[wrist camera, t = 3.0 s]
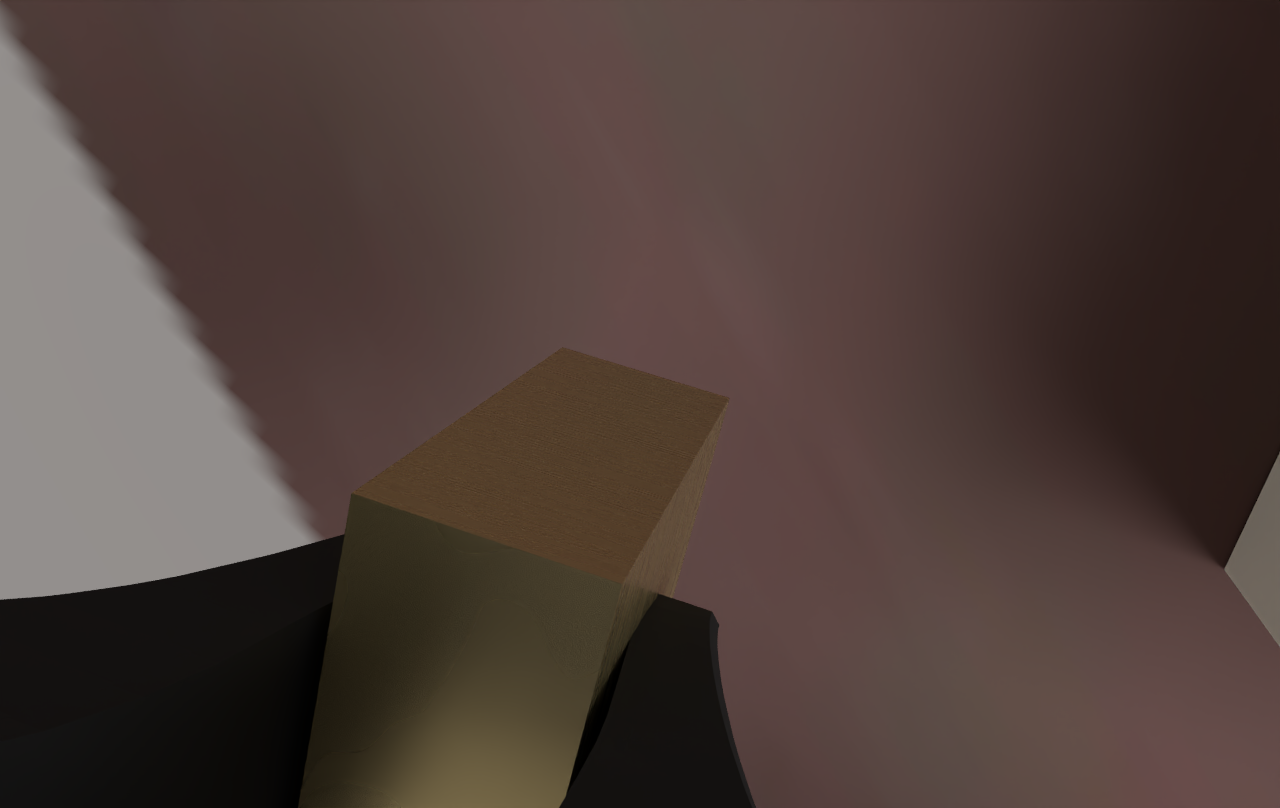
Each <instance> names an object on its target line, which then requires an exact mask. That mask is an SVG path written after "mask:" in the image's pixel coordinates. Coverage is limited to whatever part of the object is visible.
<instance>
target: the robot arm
mask: <svg viewBox="0 0 1280 808" xmlns="http://www.w3.org/2000/svg"><path fill="white" fill-rule="evenodd" d="M344 535H345V534H344ZM344 535H340V536H337V537H333V538H329V539H326V540H322V541H319V542H315V543H311V544H308V545H304V546H301V547H297V548H293V549H290V550H286V551H283V552H279V553H275V554H271V555H267V556H263V557H259V558H255V559H251V560H246V561H242V562H237V563H234V564H229V565H224V566H220V567H216V568H211V569H207V570H203V571H199V572H194V573H190V574H186V575H181V576H177V577H171V578H166V579H161V580H155V581H149V582H144V583H138V584H132V585H127V586H120V587H112V588H106V589H98V590H91V591H84V592H77V593H70V594H61V595H53V596H45V597H32V598H18V599H6V600H5V599H4V600H0V808H298V805H299V799H300V793H301V787H302V782H303V776H304V770H305V764H306V758H307V752H308V746H309V740H310V735H311V729H312V723H313V717H314V711H315V705H316V699H317V694H318V688H319V682H320V676H321V670H322V664H323V658H324V653H325V647H326V641H327V635H328V629H329V623H330V617H331V611H332V606H333V600H334V594H335V588H336V582H337V576H338V570H339V565H340V559H341V553H342V547H343V541H344ZM718 628H719V624H718V622H717V620H716V618H715V616H714V614H713V612H712V611H709V610H706V609H703V608H700V607H697V606H694V605H691V604H688V603H685V602H682V601H679V600H676V599H673V598H670V597H667V596H664V595H661V594H659V595H658V597H657V598H656V599H655V600H654V602H653V603H652V604H651V606H650V607H649V609H648V610H647V612H646V613H645V615H644V616H643V618H642V620H641V621H640V623H639V625H638V626H637V628H636V630H635V631H634V633H633V635H632V636H631V639H630V643H629V646H628V649H627V652H626V656H625V659H624V662H623V665H622V669H621V672H620V675H619V678H618V681H617V685H616V688H615V691H614V694H613V698H612V701H611V704H610V707H609V711H608V714H607V717H606V719H605V722H604V724H603V727H602V729H601V732H600V734H599V736H598V739H597V741H596V743H595V745H594V747H593V749H592V750H591V752H590V754H589V756H588V758H587V759H586V761H585V763H584V765H583V767H582V768H581V770H580V772H579V774H578V775H577V777H576V779H575V781H574V783H573V784H572V786H571V788H570V790H569V792H568V793H567V795H566V797H565V798H564V800H563V802H562V803H561V805H560V807H559V808H756V806H755V804H754V801H753V798H752V796H751V793H750V790H749V787H748V784H747V781H746V778H745V775H744V772H743V769H742V766H741V763H740V759H739V756H738V752H737V749H736V745H735V742H734V738H733V734H732V730H731V725H730V721H729V717H728V713H727V708H726V704H725V700H724V695H723V689H722V684H721V677H720V669H719V662H718V649H717V636H718Z"/></svg>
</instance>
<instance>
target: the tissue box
mask: <svg viewBox="0 0 1280 808" xmlns="http://www.w3.org/2000/svg"><path fill="white" fill-rule="evenodd" d="M1224 570H1225V572H1226V573H1227V574H1228V576H1229V577H1230V579H1231V580H1232V581H1233V583H1234V584H1235V586H1236V587H1237V588H1238V590H1239V591H1240V592H1241V594H1242V595H1243V597H1244V598H1245V599H1246V601H1247V602H1248V604H1249V605H1250V606H1251V608H1252V609H1253V610H1254V612H1255V613H1256V615H1257V616H1258V617H1259V619H1260V620H1261V622H1262V623H1263V624H1264V626H1265V627H1266V629H1267V630H1268V631H1269V633H1270V634H1271V635H1272V637H1273V638H1274V640H1275V641H1276V642H1277V644H1278V645H1279V647H1280V453H1279V455H1278V457H1277V459H1276V461H1275V463H1274V466H1273V468H1272V470H1271V472H1270V474H1269V476H1268V478H1267V480H1266V482H1265V485H1264V487H1263V489H1262V491H1261V493H1260V495H1259V497H1258V499H1257V501H1256V504H1255V506H1254V508H1253V510H1252V512H1251V514H1250V516H1249V518H1248V520H1247V523H1246V525H1245V527H1244V529H1243V531H1242V533H1241V535H1240V537H1239V539H1238V541H1237V544H1236V546H1235V548H1234V550H1233V552H1232V554H1231V556H1230V558H1229V560H1228V563H1227V565H1226V567H1225V569H1224Z"/></svg>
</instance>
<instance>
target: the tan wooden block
mask: <svg viewBox="0 0 1280 808" xmlns="http://www.w3.org/2000/svg"><path fill="white" fill-rule="evenodd" d="M728 402H729V398H728V397H724V396H721V395H718V394H714V393H711V392H708V391H705V390H701V389H698V388H695V387H691V386H688V385H685V384H681V383H678V382H675V381H672V380H668V379H665V378H662V377H658V376H655V375H652V374H649V373H645V372H642V371H639V370H635V369H632V368H629V367H625V366H622V365H619V364H616V363H612V362H609V361H606V360H602V359H599V358H596V357H593V356H589V355H586V354H583V353H579V352H576V351H573V350H569V349H566V348H563V347H562V348H561V349H560V350H558V351H557V352H555V353H554V354H552V355H551V356H549V357H548V358H547V359H545V360H544V361H542V362H541V363H539V364H538V365H536V366H535V367H534V368H532V369H531V370H529V371H528V372H526V373H525V374H523V375H522V376H520V377H519V378H518V379H516V380H515V381H513V382H512V383H510V384H509V385H507V386H506V387H505V388H503V389H502V390H500V391H499V392H497V393H496V394H494V395H493V396H492V397H490V398H489V399H487V400H486V401H484V402H483V403H481V404H480V405H479V406H477V407H476V408H474V409H473V410H471V411H470V412H468V413H467V414H466V415H464V416H463V417H461V418H460V419H458V420H457V421H455V422H454V423H453V424H451V425H450V426H448V427H447V428H445V429H444V430H442V431H441V432H439V433H438V434H437V435H435V436H434V437H432V438H431V439H429V440H428V441H426V442H425V443H424V444H422V445H421V446H419V447H418V448H416V449H415V450H413V451H412V452H411V453H409V454H408V455H406V456H405V457H403V458H402V459H400V460H399V461H398V462H396V463H395V464H393V465H392V466H390V467H389V468H387V469H386V470H385V471H383V472H382V473H380V474H379V475H377V476H376V477H374V478H373V479H372V480H370V481H369V482H367V483H366V484H364V485H363V486H361V487H360V488H358V489H357V490H356V491H354V492H353V493H352V494H351V500H350V506H349V512H348V518H347V523H346V529H345V535H344V541H343V547H342V553H341V559H340V565H339V570H338V576H337V582H336V588H335V594H334V600H333V606H332V611H331V617H330V623H329V629H328V635H327V641H326V647H325V653H324V658H323V664H322V670H321V676H320V682H319V688H318V694H317V699H316V705H315V711H314V717H313V723H312V729H311V735H310V740H309V746H308V752H307V758H306V764H305V770H304V776H303V782H302V787H301V793H300V799H299V805H298V808H559V807H560V805H561V803H562V802H563V800H564V798H565V797H566V795H567V793H568V792H569V790H570V788H571V786H572V784H573V783H574V781H575V779H576V777H577V775H578V774H579V772H580V770H581V768H582V767H583V765H584V763H585V761H586V759H587V758H588V756H589V754H590V752H591V750H592V749H593V747H594V745H595V743H596V741H597V739H598V736H599V734H600V732H601V729H602V727H603V724H604V722H605V719H606V717H607V714H608V711H609V707H610V704H611V701H612V698H613V694H614V691H615V688H616V685H617V681H618V678H619V675H620V672H621V669H622V665H623V662H624V659H625V656H626V652H627V649H628V646H629V643H630V639H631V636H632V635H633V633H634V631H635V630H636V628H637V626H638V625H639V623H640V621H641V620H642V618H643V616H644V615H645V613H646V612H647V610H648V609H649V607H650V606H651V604H652V603H653V602H654V600H655V599H656V598H657V597H658V595H659V594H661V595H664V596H667V597H670V598H673V595H674V591H675V588H676V584H677V581H678V577H679V574H680V570H681V567H682V563H683V560H684V556H685V553H686V549H687V546H688V542H689V539H690V535H691V532H692V528H693V525H694V521H695V518H696V514H697V511H698V507H699V504H700V500H701V497H702V493H703V490H704V486H705V483H706V479H707V476H708V472H709V469H710V465H711V462H712V458H713V455H714V451H715V448H716V444H717V440H718V437H719V433H720V430H721V426H722V423H723V419H724V416H725V412H726V409H727V405H728Z"/></svg>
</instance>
